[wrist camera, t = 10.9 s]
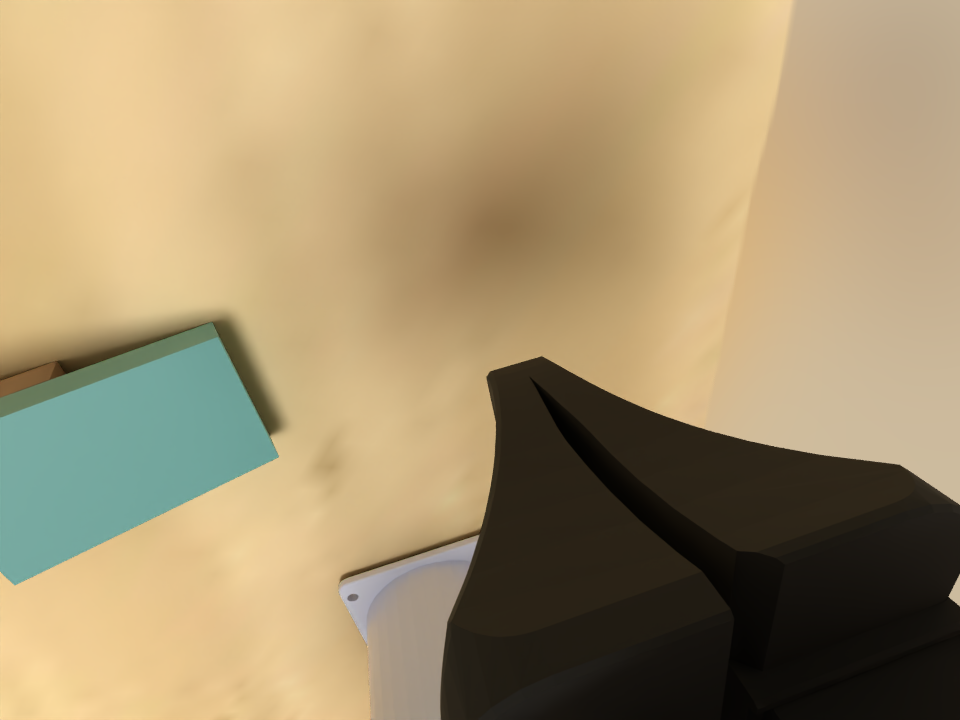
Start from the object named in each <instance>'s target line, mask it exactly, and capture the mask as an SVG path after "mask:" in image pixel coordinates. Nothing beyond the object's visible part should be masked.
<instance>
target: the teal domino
mask: <svg viewBox="0 0 960 720" xmlns="http://www.w3.org/2000/svg"><path fill="white" fill-rule="evenodd" d="M278 457H279V456H278V453H277V451H276V449H275V447H274V444H273V442H272V440H271V437H270V435H269V433H268V431H267V429H266V427H265V425H264V423H263V421H262V419H261V418H260V416H259V414H258V412H257V410H256V408H255V406H254V404H253V402H252V400H251V398H250V396H249V394H248V392H247V390H246V388H245V386H244V384H243V382H242V380H241V378H240V376H239V374H238V372H237V370H236V368H235V366H234V364H233V362H232V360H231V358H230V356H229V354H228V352H227V350H226V348H225V346H224V344H223V342H222V340H221V338H220V336H219V335H218V333H217V331H216V329H215V327H214V325H213V323H212V322H210V323H207V324H205V325H202V326H199V327H196V328H193V329H191V330H188V331H185V332H182V333H180V334H177V335H174V336H171V337H168V338H166V339H163V340H160V341H157V342H154V343H152V344H149V345H146V346H143V347H140V348H138V349H135V350H132V351H129V352H127V353H124V354H121V355H118V356H115V357H113V358H110V359H107V360H104V361H101V362H99V363H96V364H93V365H90V366H88V367H85V368H82V369H79V370H76V371H74V372H71V373H68V374H65V375H62V376H60V377H57V378H54V379H51V380H48V381H46V382H43V383H40V384H37V385H35V386H32V387H29V388H26V389H23V390H21V391H18V392H15V393H12V394H9V395H7V396H4V397H1V398H0V572H1V573H2V574H3V575H4V576H5V577H6V578H7V579H8V580H10V581H11V582H12V583H13V584H14V585H17V584H19V583H21V582H23V581H25V580H27V579H29V578H31V577H33V576H35V575H37V574H39V573H41V572H43V571H45V570H47V569H50V568H52V567H54V566H56V565H58V564H60V563H62V562H64V561H66V560H68V559H70V558H72V557H74V556H76V555H78V554H80V553H82V552H84V551H87V550H89V549H91V548H93V547H95V546H97V545H99V544H101V543H103V542H105V541H107V540H109V539H111V538H113V537H115V536H117V535H119V534H122V533H124V532H126V531H128V530H130V529H132V528H134V527H136V526H138V525H140V524H142V523H144V522H146V521H148V520H150V519H152V518H154V517H157V516H159V515H161V514H163V513H165V512H167V511H169V510H171V509H173V508H175V507H177V506H179V505H181V504H183V503H185V502H187V501H189V500H192V499H194V498H196V497H198V496H200V495H202V494H204V493H206V492H208V491H210V490H212V489H214V488H216V487H218V486H220V485H222V484H224V483H227V482H229V481H231V480H233V479H235V478H237V477H239V476H241V475H243V474H245V473H247V472H249V471H251V470H253V469H255V468H257V467H259V466H261V465H264V464H266V463H268V462H270V461H272V460H274V459H276V458H278Z"/></svg>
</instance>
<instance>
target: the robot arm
mask: <svg viewBox="0 0 960 720" xmlns="http://www.w3.org/2000/svg"><path fill="white" fill-rule="evenodd" d="M486 378H487V382H488V387H489V392H490V396H491V401H492V406H493V410H494V415H495V420H496V443H495V459H494V468H493V475H492V482H491V488H490V493H489V498H488V503H487V507H486V512H485V516H484V520H483V524H482V528H481V532H480V534H479V535H476V536H473V537H470V538H467V539H464V540H461V541H458V542H455V543H452V544H449V545H446V546H443V547H440V548H437V549H434V550H431V551H428V552H425V553H422V554H419V555H416V556H413V557H410V558H406V559H403V560H400V561H397V562H394V563H391V564H388V565H385V566H382V567H379V568H376V569H373V570H370V571H367V572H364V573H361V574H358V575H355V576H352V577H349V578H346V579H344V580H342V581H341V582H340V584H339V595H340V596H341V598H342V600H343V602H344V604H345V606H346V607H347V609H348V611H349V613H350V615H351V617H352V619H353V620H354V622H355V624H356V626H357V628H358V630H359V632H360V633H361V635H362V637H363V639H364V641H365V643H366V644H367V646H368V670H369V694H370V718H371V720H960V606H959V605H957V604H956V603H955V602H954V601H952V600H951V599H950V598H949V597H948V596H949V594H950V592H951V590H952V588H953V586H954V584H955V582H956V580H957V578H958V576H959V574H960V505H959V504H958V503H956V502H954V501H953V500H951V499H950V498H949V497H947V496H946V495H944V494H943V493H941V492H940V491H938V490H937V489H935V488H934V487H932V486H931V485H929V484H928V483H926V482H925V481H923V480H922V479H920V478H919V477H918V476H916V475H914V474H913V473H912V472H910V471H909V470H907V469H905V468H904V467H902V466H900V465H896V464H889V463H881V462H872V461H864V460H856V459H848V458H840V457H832V456H824V455H818V454H812V453H807V452H801V451H795V450H790V449H785V448H779V447H774V446H769V445H764V444H760V443H755V442H750V441H746V440H742V439H739V438H734V437H731V436H727V435H723V434H719V433H715V432H712V431H708V430H705V429H702V428H698V427H695V426H692V425H689V424H686V423H683V422H680V421H677V420H674V419H671V418H668V417H665V416H663V415H660V414H657V413H655V412H652V411H650V410H647V409H645V408H642V407H640V406H638V405H635V404H633V403H631V402H629V401H626V400H624V399H622V398H620V397H617V396H615V395H613V394H611V393H609V392H607V391H605V390H603V389H601V388H599V387H597V386H595V385H593V384H591V383H589V382H587V381H586V380H584V379H582V378H580V377H578V376H576V375H575V374H573V373H571V372H569V371H567V370H566V369H564V368H562V367H560V366H558V365H557V364H555V363H553V362H551V361H550V360H548V359H546V358H544V357H538V358H535V359H531V360H528V361H524V362H521V363H518V364H514V365H511V366H507V367H504V368H500V369H497V370H494V371H490V373H489V374H488V376H487V377H486Z"/></svg>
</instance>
